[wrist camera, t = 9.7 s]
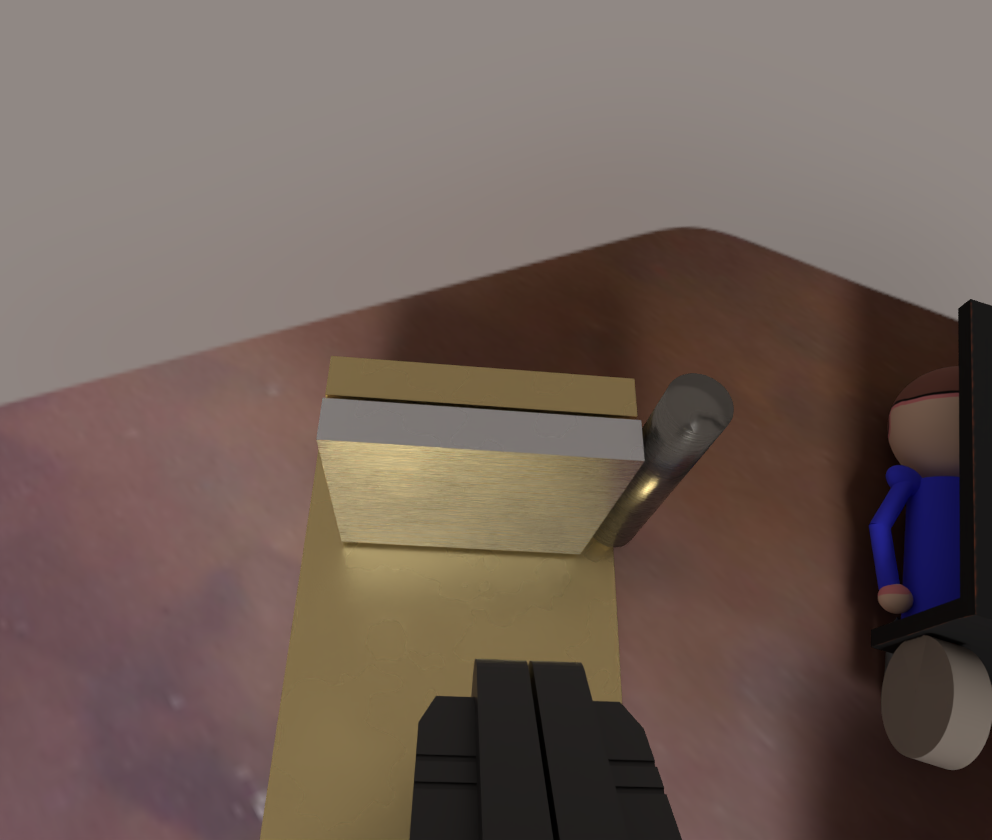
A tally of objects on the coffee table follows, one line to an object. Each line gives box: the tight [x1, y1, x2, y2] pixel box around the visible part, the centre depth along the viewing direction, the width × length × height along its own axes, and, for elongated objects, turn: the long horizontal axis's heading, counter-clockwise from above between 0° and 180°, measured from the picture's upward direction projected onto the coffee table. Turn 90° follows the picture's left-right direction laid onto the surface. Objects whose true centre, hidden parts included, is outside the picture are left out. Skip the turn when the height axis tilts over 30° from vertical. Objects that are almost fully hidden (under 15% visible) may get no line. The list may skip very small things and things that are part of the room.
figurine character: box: [869, 299, 992, 770], centre depth 25 cm, size 7×8×15 cm
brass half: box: [260, 356, 734, 840], centre depth 21 cm, size 12×15×10 cm
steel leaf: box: [316, 398, 645, 554], centre depth 22 cm, size 8×1×8 cm, turn 89°
